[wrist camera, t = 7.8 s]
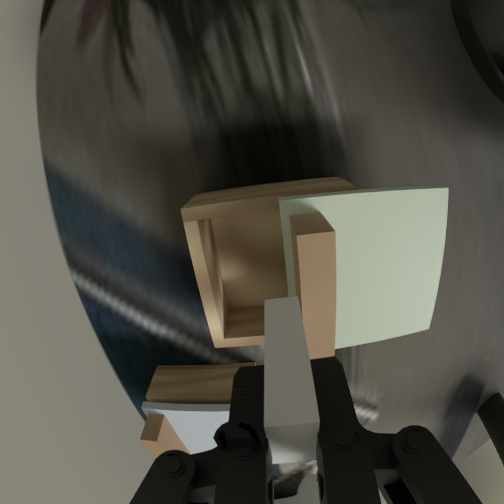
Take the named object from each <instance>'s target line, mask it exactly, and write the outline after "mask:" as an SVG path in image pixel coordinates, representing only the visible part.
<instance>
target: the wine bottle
mask: <svg viewBox="0 0 504 504" xmlns="http://www.w3.org/2000/svg"><path fill="white" fill-rule="evenodd" d="M478 415H479V417H480V419H481V420H482V422H483V424H484V426H485V428H486V430H487V432H488V434H489V436H490V438H491V440H492V442H493V444H494V446H495V448H496V450H497V452H498V454H499V457H500V459H501V461H502V463H503V465H504V399H503V397H502V396H501V394H500V393H498V394H495V395H494V396H492V397H491V398H489V399H488V400H487V401H486V402H485V403H484V404H483V405H482V406H481V407H480V409H479V410H478Z"/></svg>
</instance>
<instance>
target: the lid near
mask: <svg viewBox="0 0 504 504" xmlns="http://www.w3.org/2000/svg"><path fill="white" fill-rule="evenodd" d="M278 199H279V208H280V216H281V225H282V235H283V244H284V254H285V264H286V274H287V285H288V295H289V297H294V296H298V299H299V304H300V310H301V315H302V320H303V325H304V331H305V336H306V341H307V347H308V353H309V358H310V359H317V358H324V357H331V356H334V353H335V349H337V348H343V347H349V346H355V345H360V344H365V343H370V342H375V341H380V340H385V339H390V338H394V337H398V336H403V335H407V334H411V333H415V332H419V331H423V330H427V329H429V326H430V322H431V318H432V314H433V310H434V305H435V300H436V295H437V290H438V285H439V279H440V273H441V267H442V260H443V253H444V245H445V235H446V225H447V210H448V188H447V187H445V186H442V185H432V186H409V187H391V188H376V189H362V190H350V191H338V192H327V193H317V194H307V195H297V196H288V197H279V198H278Z"/></svg>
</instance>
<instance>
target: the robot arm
mask: <svg viewBox="0 0 504 504" xmlns="http://www.w3.org/2000/svg"><path fill="white" fill-rule="evenodd" d="M452 6H453V12H454V16H455V20H456V23H457V26H458V29H459V31H460V34H461V36H462V39H463V41H464V43H465V45H466V47H467V49H468V51H469V53H470V55H471V57H472V59H473V61H474V63H475V64H476V66H477V68H478V69H479V71H480V73H481V74H482V76H483V77H484V79H485V80H486V82H487V83H488V84H489V86H490V87H491V88H492V90H493V91H494V92H495V93H496V95H497V96H498V97H499V98H500V99H501V100H502V101H503V102H504V0H452ZM213 438H214V440H215V442H216V444H217V447H215V448H213V449H211V450H208V451H204V452H200V453H195V454H191V455H189V454H188V453H186V452H184V451H182V450H175V449H174V450H169V451H165V452H164V453H162V454H160V455H159V456H158V457H157V458H156V459H155V461H154V463H153V464H152V466H151V468H150V469H149V471H148V473H147V475H146V477H145V478H144V480H143V481H142V483H141V485H140V487H139V488H138V490H137V492H136V493H135V495H134V497H133V499H132V500H131V502H130V504H274V478H273V474H272V463H273V464H277V463H290V462H300V461H309V460H317V465H318V473H317V481H318V487H319V497H320V504H381V500H380V495H379V490H378V488H379V489H380V491H381V493H382V495H383V497H384V498H385V500H386V502H387V504H482V502H481V501H480V499H479V498H478V496H477V495H476V494H475V493H474V491H473V489H472V488H471V487H470V485H469V484H468V482H467V481H466V480H465V478H464V477H463V475H462V474H461V473H460V471H459V470H458V468H457V467H456V466H455V464H454V463H453V461H452V460H451V459H450V457H449V456H448V455H447V453H446V452H445V451H444V449H443V448H442V446H441V445H440V444H439V442H438V441H437V440H436V438H435V437H434V436H433V434H432V433H431V432H430V431H429V430H428V429H426V428H425V427H422V426H419V425H411V426H408V427H405V428H403V429H402V430H400V431H399V432H398V433H397V434H384V433H374V432H371V431H368V430H366V429H365V428H364V427H362V426H361V424H360V423H359V422H358V419H357V417H356V413H355V409H354V405H353V401H352V398H351V394H350V390H349V387H348V383H347V379H346V377H345V372H344V369H343V365H342V364H341V363H340V362H339V361H338V360H337V359H336V358H335V356H331V357H324V358H317V359H310V358H309V353H308V347H307V341H306V336H305V331H304V325H303V320H302V315H301V310H300V304H299V299H298V296H294V297H285V298H277V299H267V300H264V365H259V366H245V367H240V368H239V369H238V371H237V372H236V374H235V375H234V377H233V385H232V394H231V403H230V411H229V420H228V422H226V423H224V424H222V425H221V426H220V427H219V428H218V429H217V430H216V432H215V434H214V437H213Z"/></svg>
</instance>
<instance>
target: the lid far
mask: <svg viewBox="0 0 504 504" xmlns="http://www.w3.org/2000/svg"><path fill="white" fill-rule="evenodd" d="M142 410H143V411H144V413H145V414H146V416H147V420H146V423H145V426H144V429H143V432H142V435H141V438H140V439H141V441H142V442H143V443H144V445H145V446H146V447H147V448H148V449H149V450H150V451H151V453H152V454H153V455H154V456H155V457H156V458H157V457H158V456H159V455H160V454H162V453H164V452H165V451H169V450H174V449H175V450H182V451H184V452H186V453H188V454H189V455H191V454H195V453H200V452H204V451H208V450H211V449H213V448H215V447H217V444H216V442H215V440H214V438H213V437H214V434H215V432H216V430H217V429H218V428H219V427H220V426H221V425H222V424H224V423H226V422H228V420H229V411H230V404H172V403H155V402H143V405H142Z"/></svg>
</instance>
